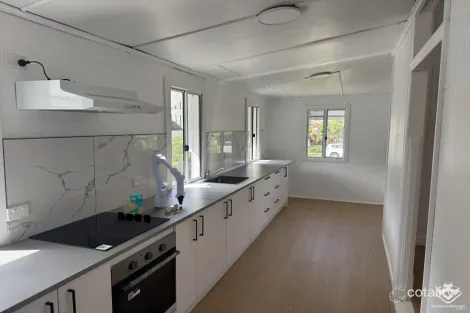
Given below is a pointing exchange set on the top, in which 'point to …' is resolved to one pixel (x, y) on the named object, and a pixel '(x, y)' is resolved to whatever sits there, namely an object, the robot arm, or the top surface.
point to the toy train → (134, 205)
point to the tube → (171, 208)
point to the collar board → (175, 211)
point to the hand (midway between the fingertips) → (180, 204)
